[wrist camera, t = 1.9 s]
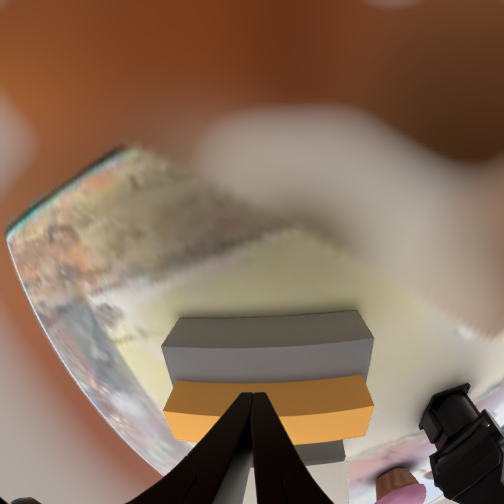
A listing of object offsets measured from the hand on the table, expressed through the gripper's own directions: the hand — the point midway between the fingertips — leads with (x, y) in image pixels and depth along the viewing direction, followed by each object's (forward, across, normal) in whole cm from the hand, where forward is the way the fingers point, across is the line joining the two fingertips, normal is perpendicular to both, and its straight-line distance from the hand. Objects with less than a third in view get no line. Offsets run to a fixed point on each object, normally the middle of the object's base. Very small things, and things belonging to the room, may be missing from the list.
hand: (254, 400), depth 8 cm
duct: (+13, 0, +15) cm, 20 cm away
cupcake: (+13, -19, +37) cm, 44 cm away
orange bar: (+8, 0, +8) cm, 12 cm away
